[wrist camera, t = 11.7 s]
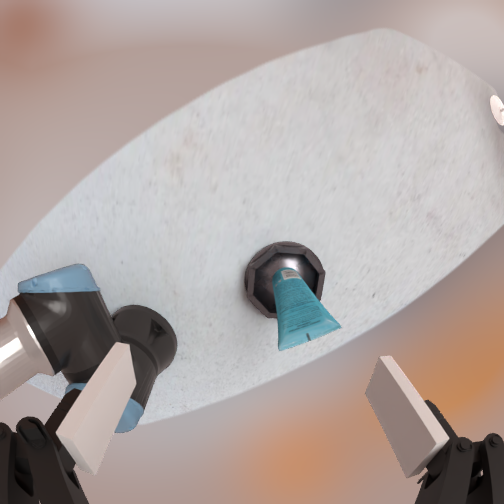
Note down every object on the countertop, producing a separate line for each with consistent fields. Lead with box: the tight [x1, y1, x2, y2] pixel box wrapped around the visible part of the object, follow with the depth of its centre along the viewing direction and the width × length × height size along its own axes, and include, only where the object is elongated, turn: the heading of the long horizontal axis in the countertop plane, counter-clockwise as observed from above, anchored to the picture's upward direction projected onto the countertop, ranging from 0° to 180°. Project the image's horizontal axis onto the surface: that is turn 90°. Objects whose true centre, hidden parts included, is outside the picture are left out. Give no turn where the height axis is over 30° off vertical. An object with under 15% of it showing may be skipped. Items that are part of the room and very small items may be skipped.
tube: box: [272, 267, 342, 351], centre depth 38 cm, size 7×5×19 cm, turn 116°
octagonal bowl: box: [245, 241, 325, 318], centre depth 47 cm, size 14×14×2 cm
